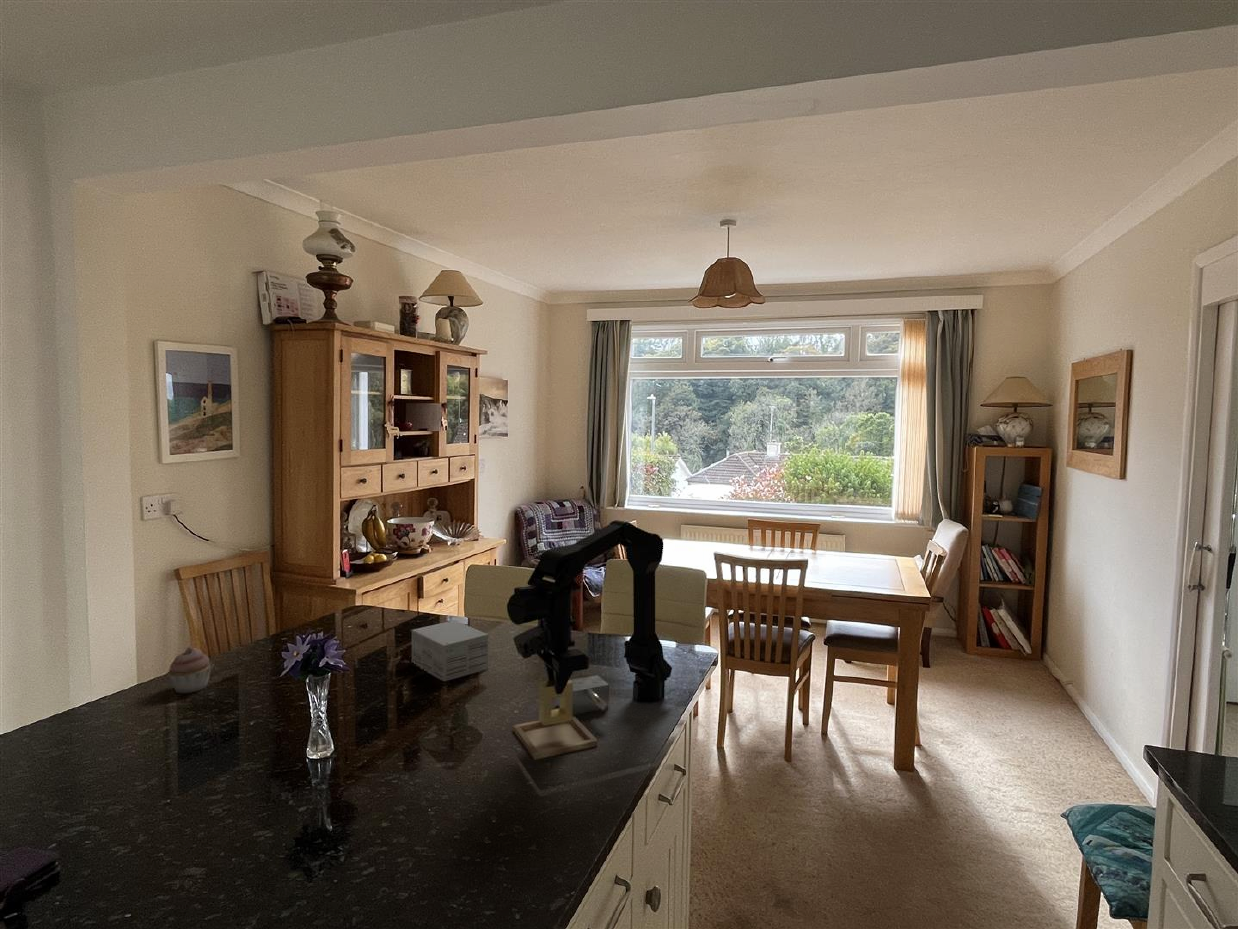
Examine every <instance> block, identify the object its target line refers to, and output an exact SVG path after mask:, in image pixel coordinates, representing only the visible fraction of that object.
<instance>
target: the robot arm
mask: <svg viewBox="0 0 1238 929" xmlns="http://www.w3.org/2000/svg"><path fill="white" fill-rule="evenodd" d="M619 545H620V546H622V547H624V549H625V550H624V551H625V556H626V561H627V562H628V564H629V566H630V568H631V570H632V573H633V574H632V576H633V577H632V579H633V580H632V582H633V583H632V589H633V591H632V592H633V593H632V595H633V598H632V599H633V605H632V606H633V609H632V610H633V612H632V613H633V631H632V632H633V633H632V635H631V636H630V637H629V640H625V641H624V654H623V655H624V656H623V658H624V659H625V661H626V664H627V666H628V668H629V671H630V672H631V673H633V674H634V680H633V682H632V699H633V700H635V701H636V702H637V703H648V704H653V703H658V702H660V701H661V700H662V699H665V693H666V692H665V687H666V686H665V684H666V683H665V682H666V681H667V680H668V678H670V677H671V674H672V672H673V667H672V666H671V665H670V663H669V662H668V661H667V660H666V659H665V658H664V651H663V644H662V642H661V640H660V638H659V637H658V635H657V633H656V571H657V569H658V567H659V566H660V563H661V562H662V560H663V552H664V541H663V538H662V537H661V536H660V535H659V534H657V533H652V532H648V531H646V530H644V529H642V528H639V527H637V526H636V525H634V524H632V523H631V522H629V521H623V520H619V519H616V520H613V521H611V522H609V524H608V525H606V526H604V527H602V528H600V529H598V530H596V531H595V532H593V533H592V534H590V535H587V536H586V537H584V538H581V539H580V540H578V541H577V542H575V543H572V544H569V545H568V544H567V545H562V546H561V545H560V546H556V547H553V548H550V549H547V550H545V551H544V552H542V553H541V554H540V558H539V561H538V563H537V564H536V566H535V568H534V570H533V571H532V574H531V575H530V576H529V579H528V581H527V582H526V584H527V585H528V586H518V587H515V588H513V589H514V590H513V594H512V595H510V596H509V599H508V602H507V604H506V611H507V615H508V618H509V620H510V621H511V622H512V623H513V624H515V625H517V626H519V625H524V624H528V623H531V622H536V621H537V626H534V627H532V628H529V629H527V630H525V631H523V632H521V633H519V634H517V635H515V636H514V637H513V639H512V640H513V643H514V644H515V645H514V646H515V649H516V650H517V653H518V654H519V655H520V656H521V657H522V658H523V659H529V658H531V657H532V656H534V655H537V656H538V657H539V658H540V659H541V660H542V661H543V665H544V668H545V673H546V676H547V681H549V680H554V681H555V689H556V694H562V692H563V690H564V689H565V687H566V685H567V683H568V681H569V680H571V676H572V675H573V673H574V672H579V671H584V670H588V669H589V668H590V657H588V656H587V655H586V654H585V653H584V652H582V651H581V650H580V649H579V648H573V649H570V648H571V647H576V641H575V639H573V638H572V627H574V626H576V620H575V619H574V618H572V616H573V615H572V613H573V608H572V607H573V592H574V591H579V590H580V589H581V588H582V587H581V585H580V584H578V583H577V582H576V581H575V579H576V578H577V577H579V576H580V575H581V574H582V573H583V571H584V569H585V568H586V565H588V563H590V562H592V561H593V560H595V559H597V558H599V557H600V556H602V555H603V554H606V553H607V552H608V551H611V550H612V549H614V548H616V547H617V546H619ZM544 578H545V579H544ZM548 579H549V580H548Z"/></svg>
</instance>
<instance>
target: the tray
mask: <svg viewBox="0 0 1238 929" xmlns="http://www.w3.org/2000/svg"><path fill="white" fill-rule="evenodd" d="M512 729H513V731H514V733H515V735H516V736H517V738H518V739H519V740H520V742H521V744H523V745H524V748H526V750H527V751H528V753H529V754H530V755H531V757H532V758H533V759H534V761H536V760H540V759H543V758H549V757H554V756H559V755H563V754H566V753H571V752H576V751H581V750H584V749H588V748H593V747H598V739H597V738H596V737H595V736H594V735H593V734H592V733H591V732H590V731H589V730H588V729H587V728H586V726H584V724H583V723H581V722H580V720H579V719H578V718H577V717H576V716H575V715H573V714H572V720H571V721H566V722H561V723H556V724H551V725H546V726H544V725H543V724H542V723H541V722H540V721H539V719H538V720H533V721H528V722H524V723H518V724H514V725H513V726H512Z"/></svg>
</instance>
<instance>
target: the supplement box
mask: <svg viewBox="0 0 1238 929" xmlns="http://www.w3.org/2000/svg"><path fill="white" fill-rule="evenodd" d="M489 638H490V637H489V633H486V632H483V631H480V630H478V629H476V628H473V627H471V626H469V625H466V624H464V623H463V622H459V621H458V620H450V621H444V622H441V623H436V624H432V625H427V626H423V627H419V628H414V629H411V663H412V662H413V663H414V664H416V665H417V666H416V665H415V666H416V667H418V666H419V667H420V668H419V667H418V668H419V669H421V670H423V669H424V670H423V671H425V672H426V671H427V672H426V673H428V674H430V675H432V676H433V677H435V678H437V679H439V681H442V682H447V681H451V680H455V679H457V678H461V677H465V676H468V675H472V674H476V673H479V672H482V671H486V670H489V643H490V642H489ZM414 664H413V665H414Z"/></svg>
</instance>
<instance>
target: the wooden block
mask: <svg viewBox="0 0 1238 929" xmlns="http://www.w3.org/2000/svg"><path fill="white" fill-rule="evenodd" d="M570 680H571V679H569V681H568V683H567V685H566V687H565V689H564V690H563V692H562V694H556V689H555V681H554V680H549V681H548V680H544V681H538V720H539V721H540V722H541V723H542V724H543V725H544V726H546V725H551V724H556V723H561V722H566V721H571V720H572V701H573V682H571V681H570ZM559 697H560V708H559V707H558V708H555V709H552V702H553V701H552V700H553V699H557V698H559Z"/></svg>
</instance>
